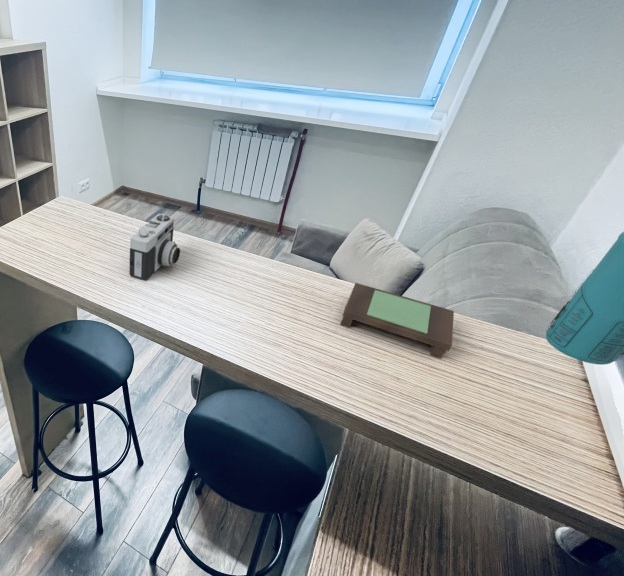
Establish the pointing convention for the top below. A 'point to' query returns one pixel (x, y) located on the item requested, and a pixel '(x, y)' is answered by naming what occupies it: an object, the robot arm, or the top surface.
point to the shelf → (401, 317)
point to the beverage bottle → (594, 314)
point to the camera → (153, 247)
